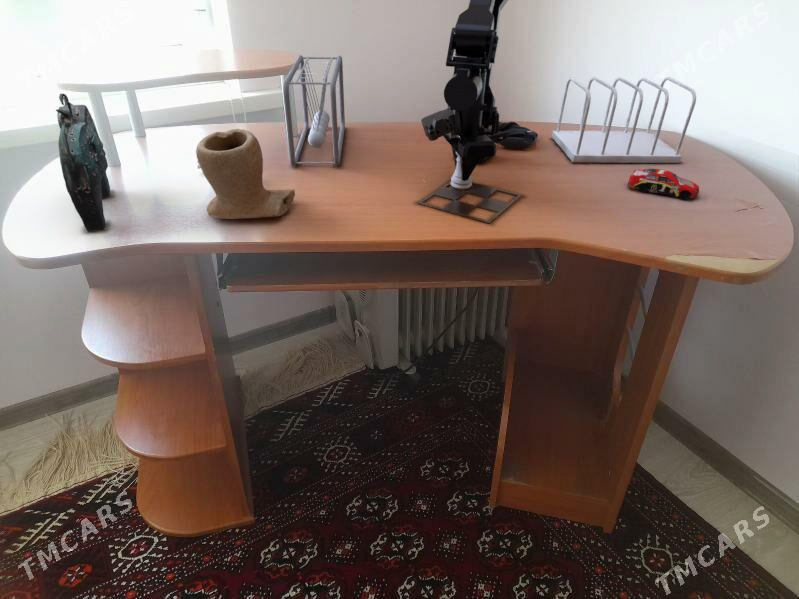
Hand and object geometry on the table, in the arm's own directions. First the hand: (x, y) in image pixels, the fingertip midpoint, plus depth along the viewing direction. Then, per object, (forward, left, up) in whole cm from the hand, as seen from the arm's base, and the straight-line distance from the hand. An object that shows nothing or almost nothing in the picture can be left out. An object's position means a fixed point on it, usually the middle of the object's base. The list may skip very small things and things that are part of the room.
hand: (461, 176), depth 110 cm
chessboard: (+5, +5, -2) cm, 7 cm away
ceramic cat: (+48, -49, -2) cm, 69 cm away
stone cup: (+34, -25, -2) cm, 42 cm away
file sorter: (-40, +20, -2) cm, 45 cm away
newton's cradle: (-2, -39, -2) cm, 39 cm away
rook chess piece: (0, 0, -2) cm, 2 cm away
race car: (-21, +35, -2) cm, 41 cm away
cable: (-31, -5, -2) cm, 32 cm away
